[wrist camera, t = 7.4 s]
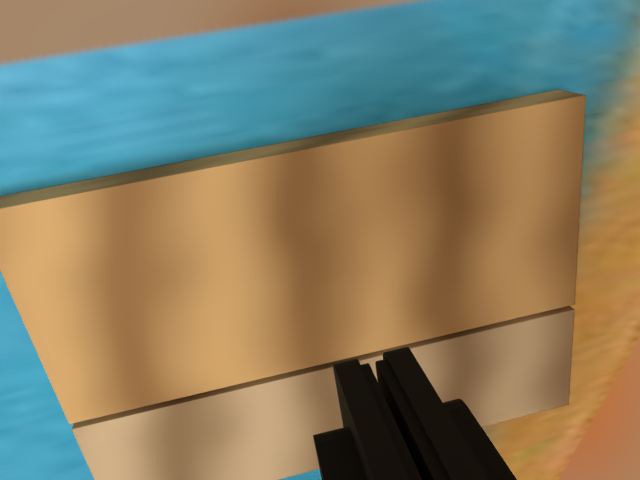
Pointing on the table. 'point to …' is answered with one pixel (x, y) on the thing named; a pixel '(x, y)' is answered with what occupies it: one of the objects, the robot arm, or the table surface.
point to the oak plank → (296, 251)
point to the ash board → (327, 406)
